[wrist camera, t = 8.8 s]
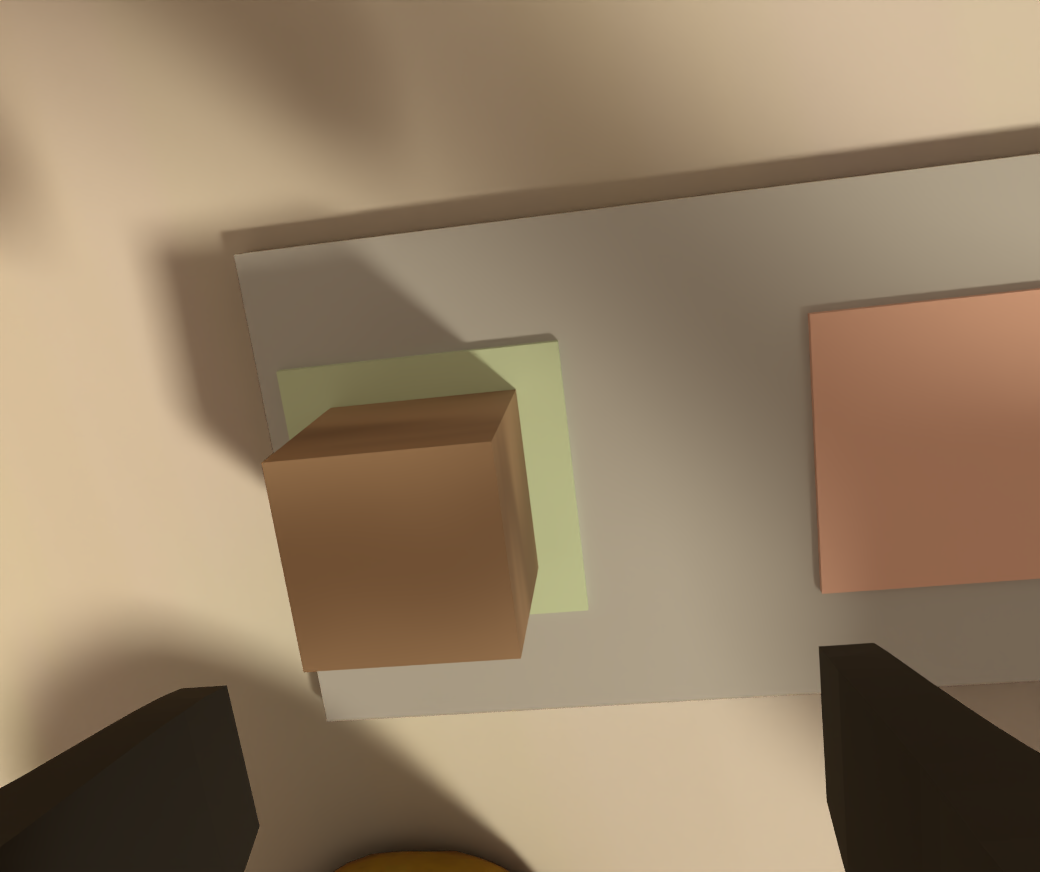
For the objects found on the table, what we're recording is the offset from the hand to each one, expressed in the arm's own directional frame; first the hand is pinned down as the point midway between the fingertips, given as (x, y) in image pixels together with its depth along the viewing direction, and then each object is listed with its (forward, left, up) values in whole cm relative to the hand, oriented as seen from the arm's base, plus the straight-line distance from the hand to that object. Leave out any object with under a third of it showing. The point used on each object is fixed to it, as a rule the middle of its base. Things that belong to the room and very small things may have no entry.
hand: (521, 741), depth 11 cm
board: (-3, 0, -10) cm, 10 cm away
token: (+3, 0, -9) cm, 9 cm away
